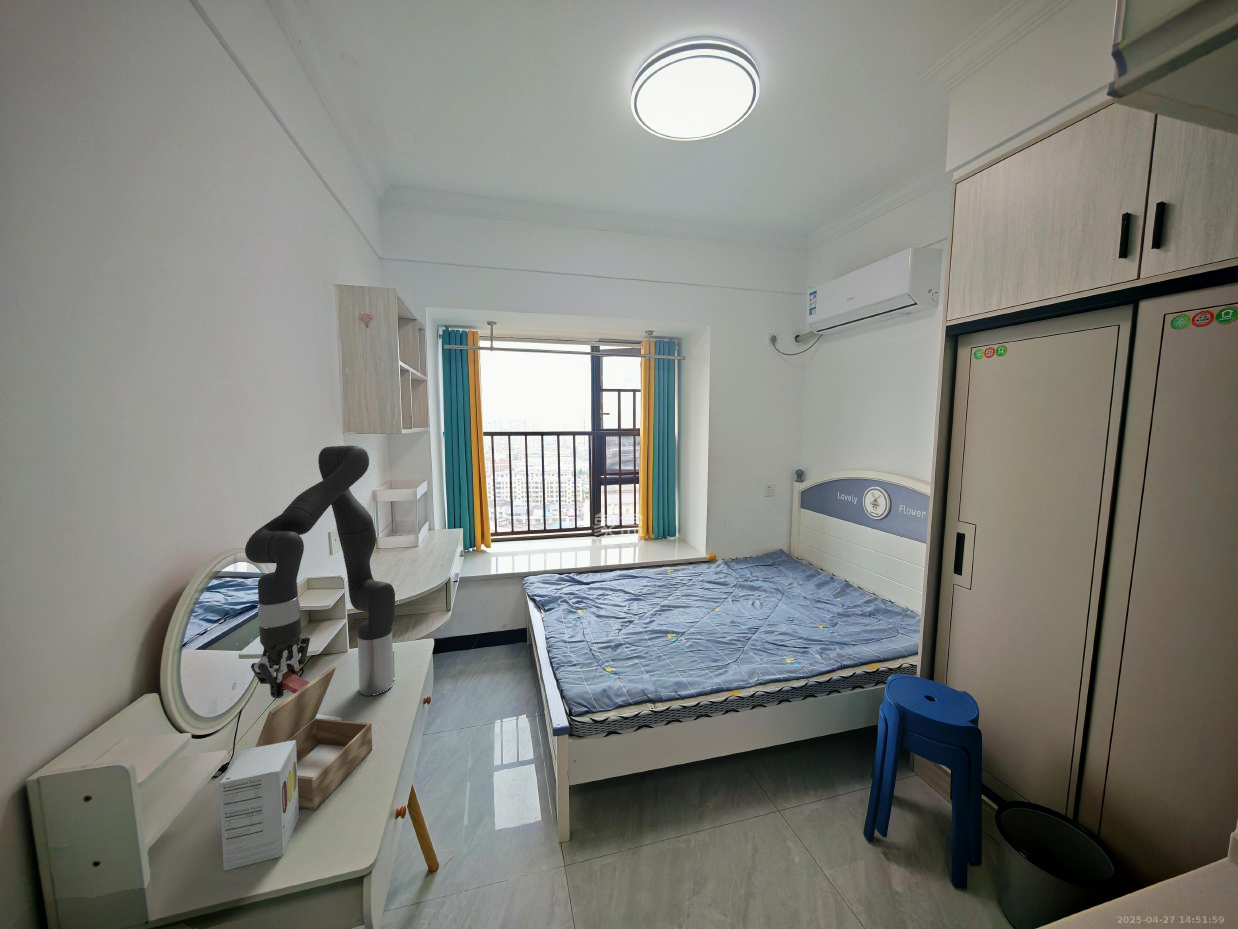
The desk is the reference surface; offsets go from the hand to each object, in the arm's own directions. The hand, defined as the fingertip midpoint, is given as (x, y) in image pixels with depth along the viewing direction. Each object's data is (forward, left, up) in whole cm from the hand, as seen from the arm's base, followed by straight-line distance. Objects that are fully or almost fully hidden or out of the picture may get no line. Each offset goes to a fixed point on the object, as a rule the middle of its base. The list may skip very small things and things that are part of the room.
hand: (285, 691), depth 102 cm
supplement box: (+17, +10, -20) cm, 28 cm away
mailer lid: (0, +3, -6) cm, 6 cm away
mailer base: (0, +7, -19) cm, 21 cm away
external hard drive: (-12, -5, -20) cm, 24 cm away
